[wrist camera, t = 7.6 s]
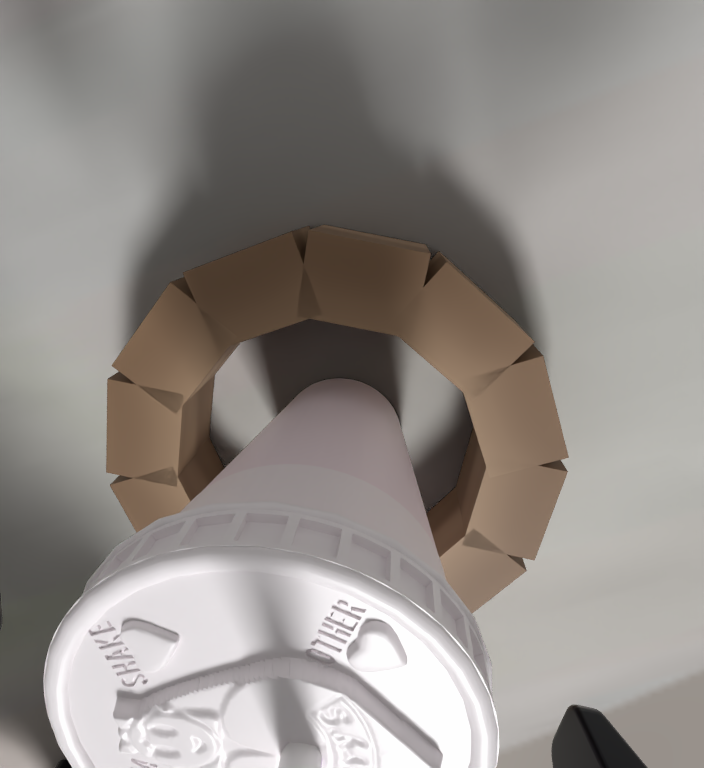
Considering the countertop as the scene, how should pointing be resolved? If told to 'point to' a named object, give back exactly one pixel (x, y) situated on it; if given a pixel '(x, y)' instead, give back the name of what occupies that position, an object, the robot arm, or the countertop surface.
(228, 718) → the smoothie
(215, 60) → the countertop surface
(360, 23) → the countertop surface
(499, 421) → the walnut ring
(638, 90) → the countertop surface
